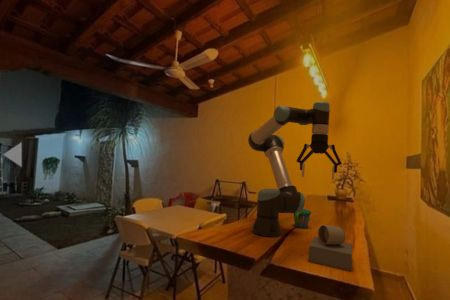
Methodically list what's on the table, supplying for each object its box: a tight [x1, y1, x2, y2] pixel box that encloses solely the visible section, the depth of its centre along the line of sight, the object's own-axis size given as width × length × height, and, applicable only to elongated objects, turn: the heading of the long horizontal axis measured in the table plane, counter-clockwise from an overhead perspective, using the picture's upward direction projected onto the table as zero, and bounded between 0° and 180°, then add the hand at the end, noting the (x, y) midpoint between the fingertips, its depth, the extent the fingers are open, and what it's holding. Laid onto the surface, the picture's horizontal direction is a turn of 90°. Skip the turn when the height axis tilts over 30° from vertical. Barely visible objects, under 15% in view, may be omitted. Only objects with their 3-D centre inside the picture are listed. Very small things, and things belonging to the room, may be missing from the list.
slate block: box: [308, 236, 353, 272], centre depth 102 cm, size 15×15×6 cm
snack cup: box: [293, 208, 312, 229], centre depth 154 cm, size 16×10×10 cm
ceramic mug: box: [317, 224, 346, 245], centre depth 104 cm, size 11×8×8 cm
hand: (317, 178), depth 120 cm, fingers open, 13 cm apart
